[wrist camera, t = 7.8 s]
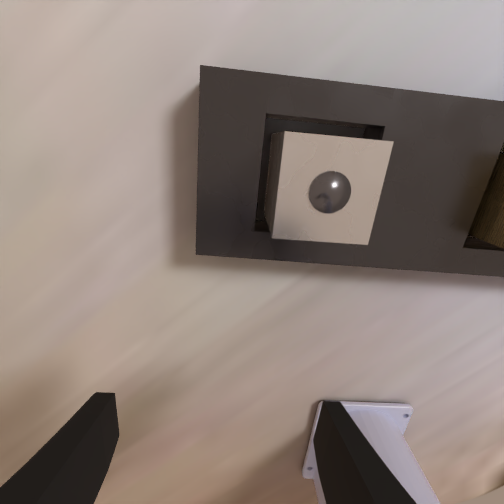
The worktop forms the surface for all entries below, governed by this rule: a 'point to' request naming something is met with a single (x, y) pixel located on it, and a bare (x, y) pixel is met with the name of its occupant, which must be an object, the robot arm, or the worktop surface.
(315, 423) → the robot arm
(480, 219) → the yellow block with knob
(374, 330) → the worktop surface
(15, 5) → the worktop surface
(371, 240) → the dark grey socket board
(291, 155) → the cube with round knob
